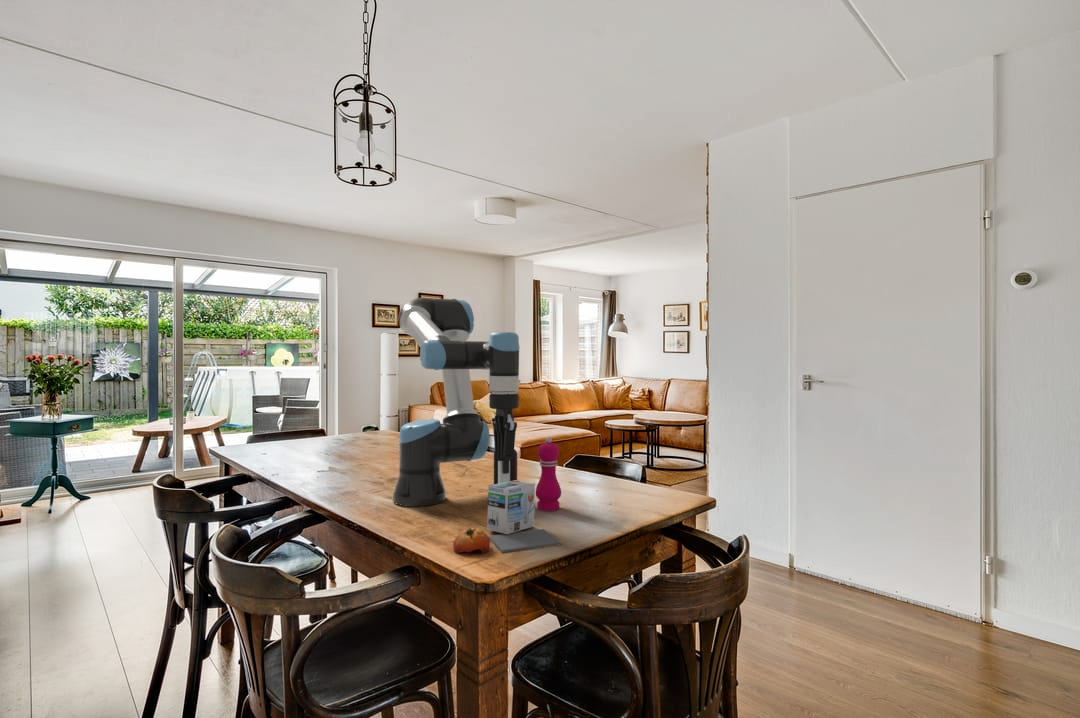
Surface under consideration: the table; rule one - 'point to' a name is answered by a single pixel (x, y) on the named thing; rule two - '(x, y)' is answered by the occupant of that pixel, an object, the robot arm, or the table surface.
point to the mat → (523, 540)
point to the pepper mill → (548, 477)
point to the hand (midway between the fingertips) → (503, 485)
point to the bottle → (512, 468)
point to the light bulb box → (510, 506)
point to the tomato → (471, 541)
